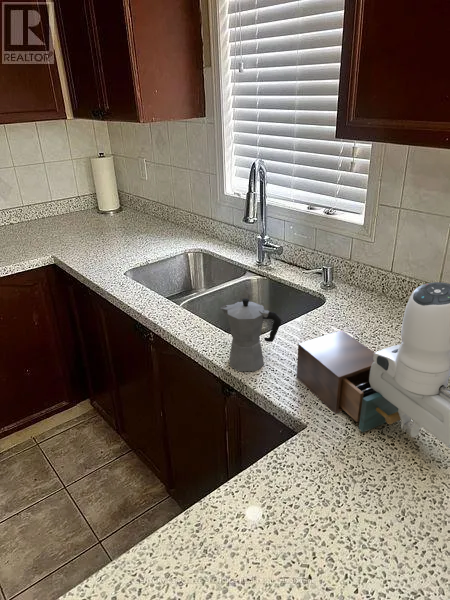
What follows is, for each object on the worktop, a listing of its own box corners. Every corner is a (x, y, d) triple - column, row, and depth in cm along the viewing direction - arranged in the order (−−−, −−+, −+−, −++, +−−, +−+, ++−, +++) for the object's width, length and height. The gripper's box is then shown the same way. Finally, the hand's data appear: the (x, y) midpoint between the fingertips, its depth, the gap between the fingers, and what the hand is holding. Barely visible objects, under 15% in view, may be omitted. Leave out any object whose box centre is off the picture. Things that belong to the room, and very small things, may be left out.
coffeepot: (215, 366, 112) (211, 303, 104) (229, 347, 120) (227, 287, 112) (274, 380, 106) (275, 313, 98) (285, 359, 114) (287, 295, 106)
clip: (368, 394, 97) (371, 378, 95) (378, 402, 95) (381, 385, 93) (350, 401, 95) (352, 385, 94) (360, 409, 93) (362, 393, 91)
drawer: (421, 427, 90) (428, 396, 86) (378, 446, 85) (383, 415, 82) (361, 379, 104) (364, 351, 100) (321, 394, 100) (323, 365, 96)
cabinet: (380, 396, 100) (386, 360, 96) (335, 414, 95) (338, 377, 91) (338, 363, 112) (341, 330, 107) (296, 377, 107) (298, 343, 103)
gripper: (487, 400, 71) (469, 463, 77) (392, 340, 88) (383, 396, 94) (460, 412, 69) (443, 477, 75) (367, 349, 85) (360, 406, 92)
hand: (409, 431), depth 85 cm, fingers closed
